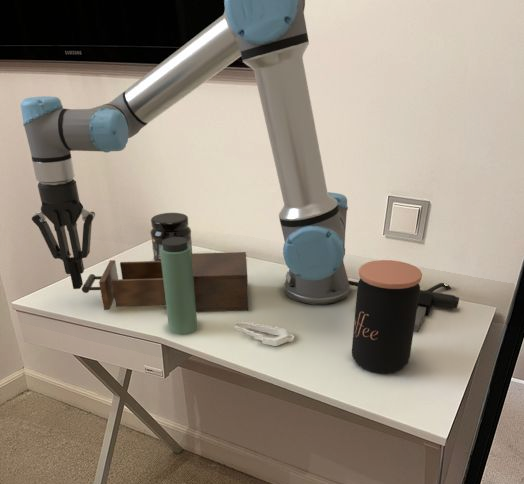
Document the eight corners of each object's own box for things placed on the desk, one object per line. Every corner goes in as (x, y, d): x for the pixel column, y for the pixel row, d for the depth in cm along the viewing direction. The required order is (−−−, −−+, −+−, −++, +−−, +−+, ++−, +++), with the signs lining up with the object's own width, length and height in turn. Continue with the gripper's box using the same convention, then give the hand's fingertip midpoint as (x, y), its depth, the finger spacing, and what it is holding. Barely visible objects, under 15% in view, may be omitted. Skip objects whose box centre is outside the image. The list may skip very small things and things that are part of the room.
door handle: (448, 327, 107) (461, 292, 119) (351, 309, 114) (372, 277, 126) (446, 341, 109) (458, 305, 121) (351, 322, 116) (371, 290, 128)
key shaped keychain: (227, 337, 109) (226, 330, 108) (237, 326, 113) (236, 319, 112) (287, 349, 105) (287, 341, 104) (295, 337, 109) (295, 329, 108)
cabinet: (168, 313, 119) (164, 277, 115) (174, 287, 131) (170, 254, 126) (248, 310, 120) (247, 274, 115) (246, 285, 131) (245, 251, 127)
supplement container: (167, 252, 151) (163, 210, 145) (200, 257, 148) (197, 214, 141) (146, 265, 143) (140, 221, 137) (180, 271, 139) (176, 226, 133)
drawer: (82, 310, 118) (76, 282, 115) (94, 287, 129) (89, 260, 126) (179, 307, 119) (176, 279, 116) (183, 284, 130) (180, 258, 126)
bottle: (201, 322, 115) (195, 237, 105) (190, 336, 110) (182, 247, 100) (176, 319, 117) (167, 234, 107) (163, 332, 112) (153, 244, 102)
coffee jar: (345, 347, 106) (352, 261, 96) (398, 344, 106) (410, 258, 97) (358, 377, 97) (367, 285, 87) (416, 374, 97) (431, 282, 88)
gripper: (92, 175, 113) (110, 278, 125) (29, 176, 113) (53, 280, 125) (84, 184, 107) (103, 292, 119) (17, 185, 106) (44, 294, 119)
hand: (78, 286), depth 122 cm, fingers closed
